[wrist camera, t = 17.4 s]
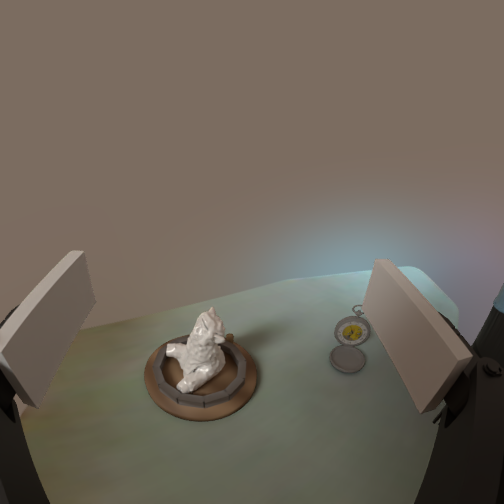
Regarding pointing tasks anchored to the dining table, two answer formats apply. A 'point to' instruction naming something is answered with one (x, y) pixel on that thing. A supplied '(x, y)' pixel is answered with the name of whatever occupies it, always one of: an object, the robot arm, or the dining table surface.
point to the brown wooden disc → (208, 395)
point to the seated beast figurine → (200, 352)
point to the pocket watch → (350, 343)
